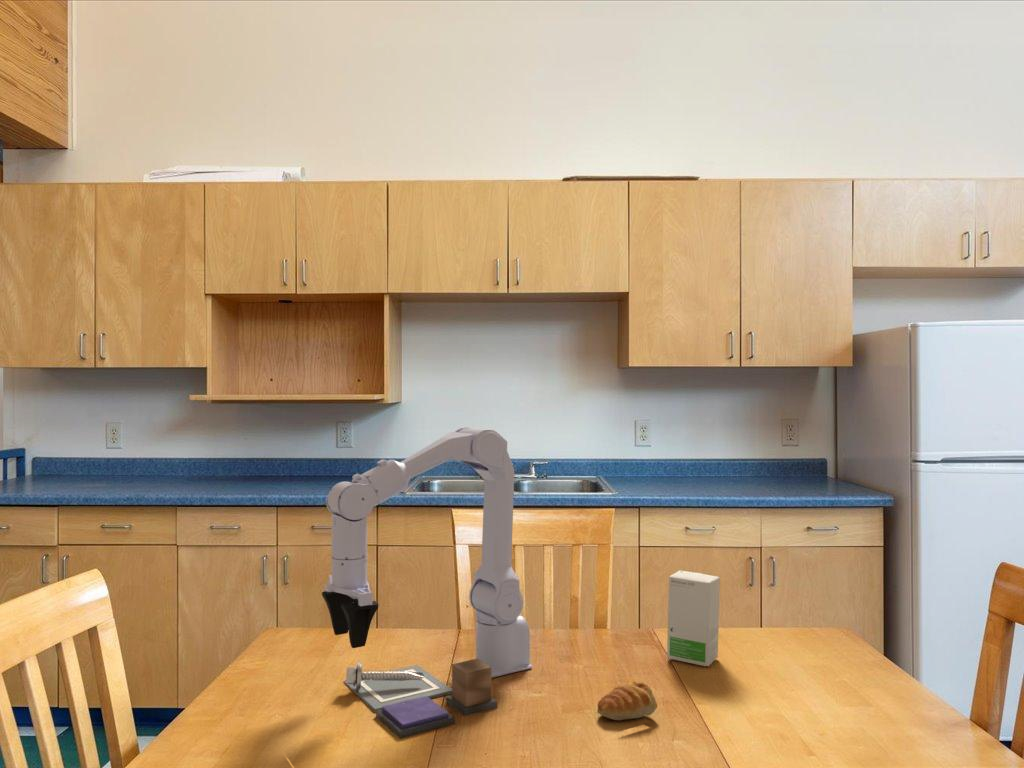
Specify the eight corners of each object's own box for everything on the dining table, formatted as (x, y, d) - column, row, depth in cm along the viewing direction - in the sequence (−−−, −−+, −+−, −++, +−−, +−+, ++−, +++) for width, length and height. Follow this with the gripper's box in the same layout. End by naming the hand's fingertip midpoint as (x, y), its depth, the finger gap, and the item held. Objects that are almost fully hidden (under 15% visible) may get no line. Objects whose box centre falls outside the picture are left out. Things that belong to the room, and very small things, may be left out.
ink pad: (428, 703, 124) (428, 693, 124) (454, 723, 116) (454, 713, 116) (376, 716, 119) (376, 706, 119) (400, 738, 112) (400, 727, 112)
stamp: (478, 695, 127) (478, 656, 127) (497, 708, 122) (497, 667, 122) (446, 703, 124) (446, 663, 124) (464, 717, 119) (464, 675, 119)
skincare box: (666, 659, 144) (665, 576, 144) (678, 649, 150) (677, 569, 150) (710, 667, 140) (709, 582, 140) (720, 656, 145) (720, 574, 146)
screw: (345, 696, 125) (347, 666, 125) (345, 685, 130) (347, 656, 130) (424, 696, 128) (426, 666, 128) (422, 685, 133) (424, 657, 133)
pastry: (615, 728, 114) (615, 702, 114) (586, 711, 120) (586, 687, 120) (660, 712, 119) (661, 688, 119) (631, 697, 125) (631, 674, 125)
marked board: (417, 667, 140) (417, 664, 140) (453, 693, 128) (453, 689, 128) (343, 683, 132) (343, 680, 132) (375, 712, 121) (375, 708, 121)
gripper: (311, 551, 129) (310, 632, 129) (341, 568, 117) (341, 657, 116) (351, 546, 133) (351, 625, 132) (384, 562, 120) (384, 649, 120)
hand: (349, 640), depth 125 cm, fingers open, 7 cm apart
